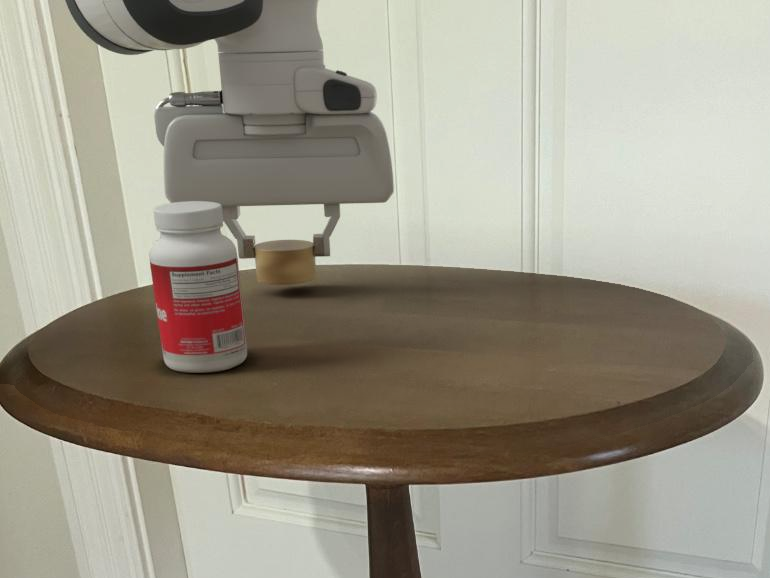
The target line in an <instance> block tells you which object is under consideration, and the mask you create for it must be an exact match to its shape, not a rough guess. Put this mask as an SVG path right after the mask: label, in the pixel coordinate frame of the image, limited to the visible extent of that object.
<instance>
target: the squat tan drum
mask: <svg viewBox="0 0 770 578" xmlns="http://www.w3.org/2000/svg"><path fill="white" fill-rule="evenodd" d="M314 248H315V246H314V245H313V241H310V240H305V239H275V240H268V241H262V242H259V243H255V245H254V250H255V258H254V261H255V263H254V264H255V273H256V274H255V275H256V280H257V282H258V283H261V284H266V285H274V286H275V285H278V286H282V285H284V286H285V285H286V286H288V285H289V286H290V285H298V284H305V283H309V282H312V281H314V280H316V279H317V263H316V257H314Z"/></svg>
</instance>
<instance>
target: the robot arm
mask: <svg viewBox="0 0 770 578" xmlns="http://www.w3.org/2000/svg"><path fill="white" fill-rule="evenodd" d="M64 1H65V4H66V6H67V9H68V11H69V13H70V15H71V16H72V18H73V20H74V22H75V23H76V25H77V26H78V27H79V28H80V30H81V31H82V32H83V33H84V34H85V36H86V37H88V38H89V39H90V40H91V41H93V42H94V43H95V44H97V45H98V46H99V47H101V48H103V49H105V50H106V51H109V52H112V53H116V54H119V55H125V56H138V55H142V54H146V53H150V52H153V51H171V50H185V49H189V48H193V47H197V46H199V45H201V44H204V43H206V42H208V41H211V40H214V41H215V43H216V45H217V52H218V53H217V54H218V65H219V66H218V67H219V76H220V78H219V79H220V90H211V91H209V90H207V91H206V90H205V91H198V92H185V91H174V92H171V93H169V94H168V95H169V96H168V97H165V98H163V99H162V100H160V101H159V102H158V104H157V105H156V107H155V109H154V115H153V116H154V125H155V134H156V138H157V140H158V142H159V144H161V145H162V147H163V187H164V196H165V198H166V199H167V201H168V203H175V202H186V201H207V202H215V203H219V204H221V207H222V214H223V223H224V224H225V225H226V227H227V228H228V230H229V231H230V233H231V234H232V236H233V237H234V239H235V240H236V242H237V255H238V260H239V259H240V260H241V259H243V260H244V259H245V260H247V259H255V250H254V246H255V245H256V236H255V235H247V234H246V233H245V231H244V229H243V228H242V226H241V225H240V223H239V222H238V219H239V218H240V216H241V207H262V206H263V207H265V206H267V207H269V206H303V205H304V206H307V205H309V206H310V205H323V211H324V213H323V214H324V217H325V218H329V219H328V221H327V223H326V225H325V227H324V229H323V231H322V233H313V236H312V242H313V245H314V246H315V248H314V257H315V258H317V257H331V236H332V234H333V232H334V230H335V228H336V226H337V224H338V222H339V220H340V218H341V204H342V205H345V204H346V205H347V204H348V205H349V204H350V205H351V204H379V203H380V204H383V203H387V202H388V201H389V200H390V199H391V198H392V196H393V194H394V192H395V187H394V185H395V184H394V183H395V182H394V173H393V163H392V155H391V149H390V144H389V140H388V134H387V132H386V128H385V126H384V123H383V122H382V120H381V119H380V117H379V116H378V115H377V114H376V113H374V112H373V110H375V108H376V106H377V103H378V102H377V100H378V93H377V88H376V87H375V85H374V84H372V83H371V82H369V81H367V80H363V79H361V78H357V77H354V76H351V75H348V74H347V72H345V71H342V70H339V69H338V70H332V69H329V68H327V67H326V65H325V60H324V59H325V58H324V45H323V39H322V37H321V34H320V30H319V26H318V15H317V13H318V5H319V0H64ZM167 104H170V106H165V105H167Z"/></svg>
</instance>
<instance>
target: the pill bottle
mask: <svg viewBox="0 0 770 578" xmlns="http://www.w3.org/2000/svg"><path fill="white" fill-rule="evenodd" d="M153 218H154V226H155V227H156V228H155V230H156V231H157V232H159V235H160V237H159V238H158V239H157V240H155V241H154V242H153V244H152V245H151V247H150V248H149V252H148V257H149V268H150V274H151V280H152V287H153V288H152V289H153V295H154V301H155V308H156V316H157V323H158V329H159V336H160V337H159V338H160V344H161V352H162V357H163V361H164V364H165V366H167V368H169V369H171V370H173V371H175V372H180V373H189V374H203V373H204V374H206V373H217V372H223V371H226V370H230V369H233V368H235V367H237V366H239V365H241V364H242V363H244V361H245V360H246V359H247V357H248V344H247V336H246V335H247V333H246V326H245V318H244V308H243V298H242V297H243V296H242V289H241V279H240V268H239V256H238V250H237V246H236V244H235V243H234V242H233V240H232V239H230V238H229V237H227V236H226V235H224V234H222V232H221V228H223V227H224V221H223V214H222V207H221V204H219V203H215V202H207V201H186V202H175V203H170V202H168V203H164V204H160V205H157V206H155V207H154V208H153Z"/></svg>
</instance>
